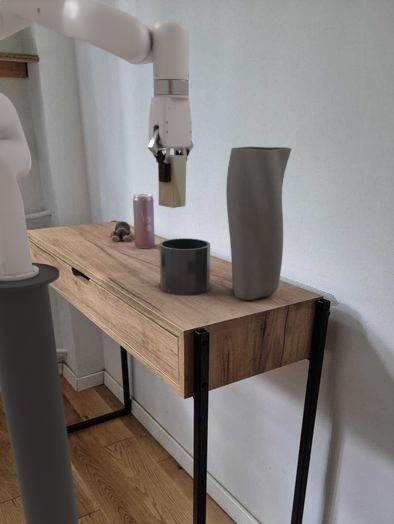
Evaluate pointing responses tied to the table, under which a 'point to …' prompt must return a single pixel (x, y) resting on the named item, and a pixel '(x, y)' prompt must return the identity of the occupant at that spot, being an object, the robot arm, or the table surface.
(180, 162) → the box
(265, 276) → the vase
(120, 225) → the figurine
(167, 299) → the table surface
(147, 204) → the beverage can
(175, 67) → the robot arm
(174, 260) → the cup
